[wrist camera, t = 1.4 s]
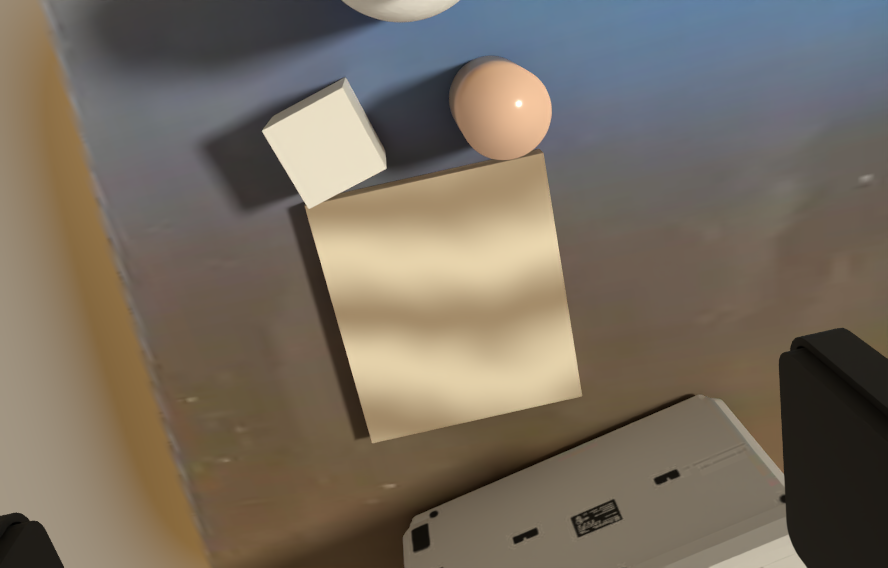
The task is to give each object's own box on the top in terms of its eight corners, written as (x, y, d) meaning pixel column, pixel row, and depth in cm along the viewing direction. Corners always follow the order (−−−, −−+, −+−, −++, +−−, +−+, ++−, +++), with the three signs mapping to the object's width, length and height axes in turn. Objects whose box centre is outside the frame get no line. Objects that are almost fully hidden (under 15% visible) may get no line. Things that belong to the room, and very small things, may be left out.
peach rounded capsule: (441, 65, 37) (450, 77, 33) (522, 47, 37) (543, 56, 33) (457, 146, 39) (468, 169, 34) (535, 129, 39) (557, 149, 34)
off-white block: (272, 115, 37) (261, 130, 34) (345, 76, 37) (342, 87, 33) (315, 187, 39) (308, 209, 35) (385, 150, 38) (386, 168, 35)
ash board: (306, 200, 39) (304, 206, 38) (539, 148, 39) (543, 153, 38) (372, 433, 44) (372, 443, 43) (577, 387, 44) (582, 396, 43)
